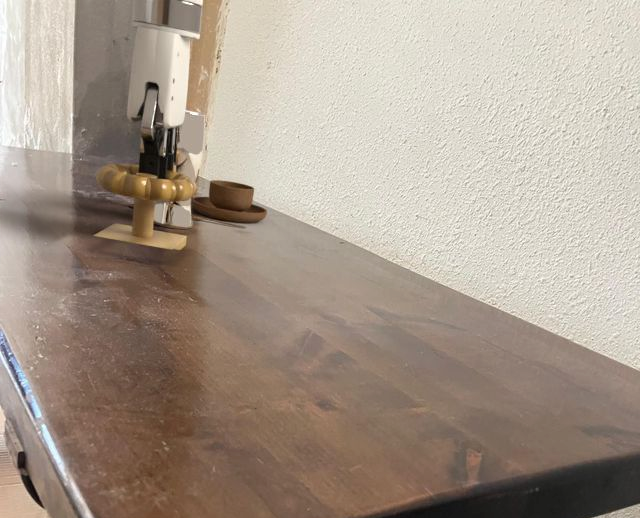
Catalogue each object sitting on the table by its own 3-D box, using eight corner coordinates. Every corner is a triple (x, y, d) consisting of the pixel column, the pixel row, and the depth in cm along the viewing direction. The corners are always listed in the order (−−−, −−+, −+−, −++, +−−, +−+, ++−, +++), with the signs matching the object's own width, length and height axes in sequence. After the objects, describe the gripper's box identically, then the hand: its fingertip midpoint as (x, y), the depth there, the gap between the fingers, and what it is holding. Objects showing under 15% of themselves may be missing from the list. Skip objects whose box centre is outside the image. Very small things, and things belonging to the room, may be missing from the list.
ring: (83, 190, 82) (83, 167, 81) (113, 179, 92) (114, 158, 91) (183, 208, 82) (185, 186, 81) (202, 195, 92) (204, 175, 91)
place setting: (260, 231, 111) (265, 191, 108) (126, 207, 110) (128, 166, 107) (270, 214, 127) (275, 178, 124) (153, 193, 126) (156, 157, 123)
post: (92, 245, 85) (95, 171, 82) (114, 232, 93) (118, 164, 90) (170, 259, 85) (177, 186, 82) (185, 245, 94) (192, 178, 90)
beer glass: (135, 217, 104) (143, 102, 98) (178, 218, 109) (188, 109, 103) (162, 229, 100) (172, 110, 94) (205, 230, 105) (217, 116, 99)
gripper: (151, 19, 91) (140, 175, 98) (113, 5, 76) (104, 190, 83) (212, 31, 91) (197, 185, 99) (186, 18, 76) (171, 202, 84)
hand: (154, 186), depth 91 cm, fingers closed on ring, 2 cm apart
